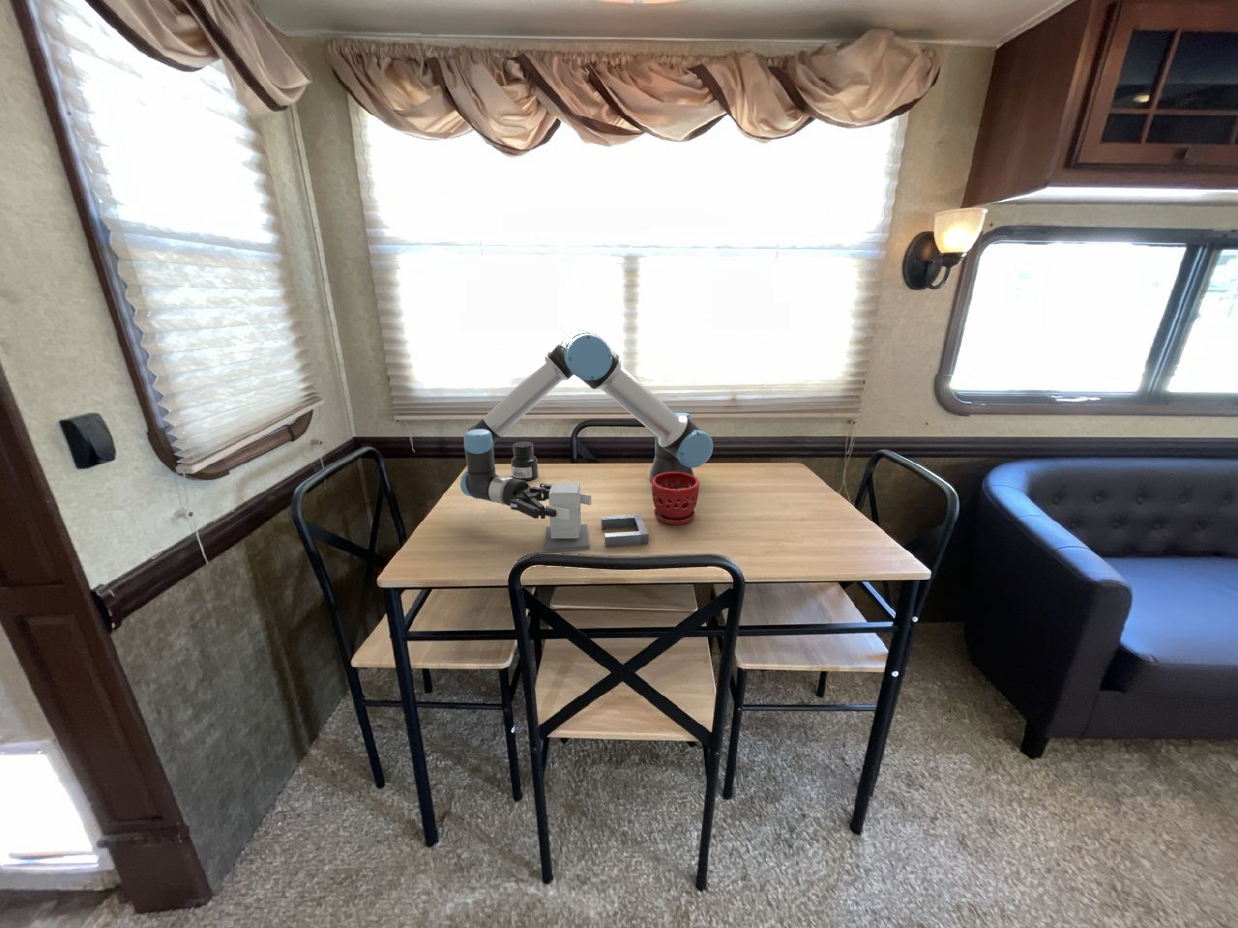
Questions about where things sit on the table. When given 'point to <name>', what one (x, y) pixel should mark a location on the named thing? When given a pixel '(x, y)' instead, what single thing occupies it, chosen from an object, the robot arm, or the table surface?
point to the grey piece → (624, 537)
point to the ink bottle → (524, 461)
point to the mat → (568, 541)
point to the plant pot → (675, 497)
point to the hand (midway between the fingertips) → (580, 507)
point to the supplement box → (568, 499)
